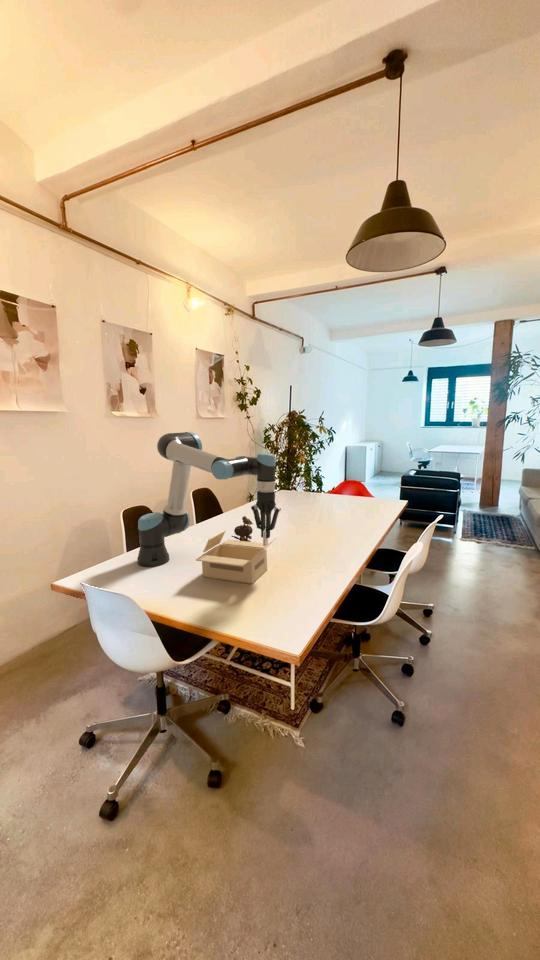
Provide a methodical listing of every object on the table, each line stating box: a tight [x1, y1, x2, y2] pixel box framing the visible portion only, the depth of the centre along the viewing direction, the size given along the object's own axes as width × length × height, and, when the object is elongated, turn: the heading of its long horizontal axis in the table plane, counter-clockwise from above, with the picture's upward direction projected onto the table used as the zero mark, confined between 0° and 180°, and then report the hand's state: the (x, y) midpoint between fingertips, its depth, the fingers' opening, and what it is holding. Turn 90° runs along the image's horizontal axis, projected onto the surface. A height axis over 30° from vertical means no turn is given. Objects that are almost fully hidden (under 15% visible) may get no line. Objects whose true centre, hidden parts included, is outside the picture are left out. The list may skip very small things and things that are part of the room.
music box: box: [231, 515, 254, 542], centre depth 194 cm, size 15×11×20 cm
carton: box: [195, 539, 268, 585], centre depth 169 cm, size 24×28×10 cm
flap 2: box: [252, 537, 277, 558], centre depth 162 cm, size 1×14×7 cm
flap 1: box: [203, 529, 226, 553], centre depth 171 cm, size 1×14×7 cm, turn 160°
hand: (265, 544), depth 162 cm, fingers closed
